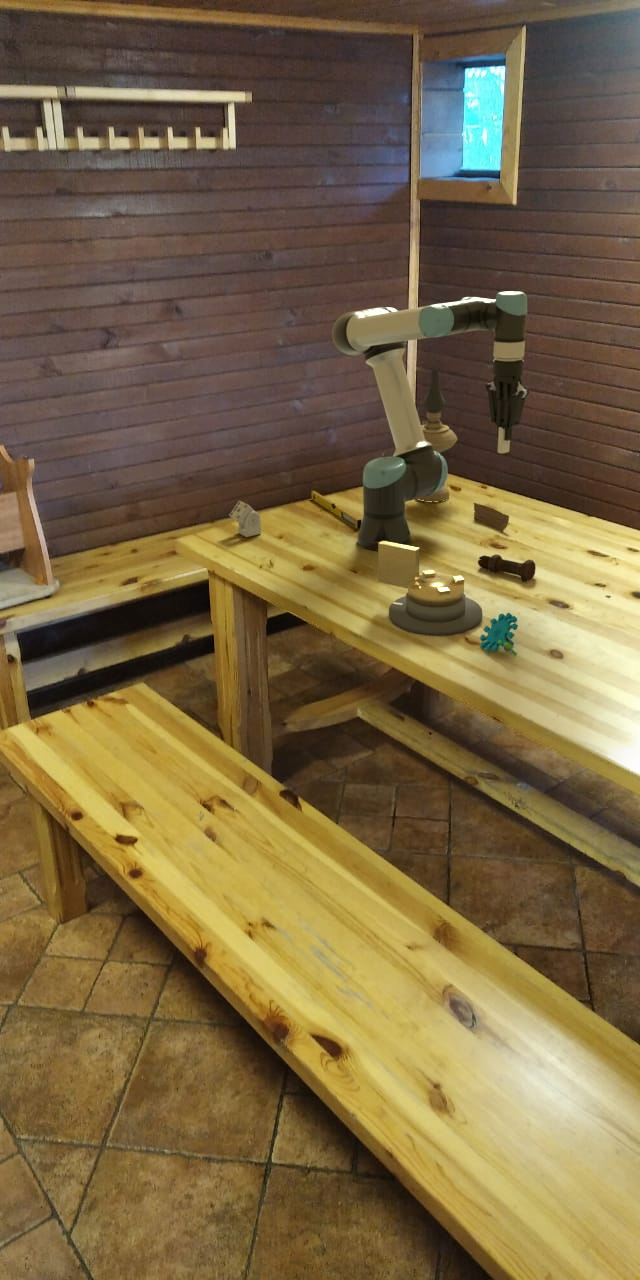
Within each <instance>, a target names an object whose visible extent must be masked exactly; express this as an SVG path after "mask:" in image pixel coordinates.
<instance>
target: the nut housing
mask: <svg viewBox="0 0 640 1280" xmlns="http://www.w3.org/2000/svg"><path fill="white" fill-rule="evenodd" d="M388 619H389V621H390V622H391V623H392V625H394V626H395V627H396V628H398V629H400V630H402V631H404V632H408V633H411V634H416V635H421V636H430V637H432V636H433V637H442V636H443V637H444V636H455V635H459V634H463V633H467V632H469V631H471V630H473V629H475V628H476V627H477V626H479V625H480V624H481V622H482V619H483V608H482V606H481V605H480V604H479V603H478V602H477V601H475V600H473V599H471V598H469V597H468V596H466V594H465V593H464V597H463V599H462V600H461V601H460V602H458V603H456V604H453V605H449V606H441V607H433V606H425V605H420V604H417V603H415V602H413V601H411V600H410V599H409V597H408V592H406V594H405V595H404V596H401V597H400V598H397V599H396V600H394V601H393V602H391V604H390V605H389V607H388Z"/></svg>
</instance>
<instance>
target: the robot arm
mask: <svg viewBox="0 0 640 1280" xmlns="http://www.w3.org/2000/svg"><path fill="white" fill-rule="evenodd" d="M528 311H529V310H528V295H527V294H526V293H525V292H523V291H513V290H510V291H500V292H497V294H496V297H495V299H494V298H493V299H492V298H484V297H479V296H466V297H462V298H461V299H460V300H457V301H451V302H450V301H449V302H443V303H434V304H430V305H425V306H420V307H414V308H408V309H407V308H406V309H402V310H397V309H396V308H394V307H392V306H391V307H390V306H389V307H388V306H387V307H384V306H383V307H382V306H377V307H374V308H368V309H363V310H354V311H353V310H352V311H348V312H345V313H344V314H342V315H341V316H339V317H338V318H337V319H336V320H335V322H334V325H333V327H332V330H331V337H332V341H333V344H334V345H335V347H336V348H337V349H338V350H339V351H340V352H341V353H343V354H346V355H348V356H360V355H363V358H364V361H365V364H367V365H368V366H370V367H371V368H372V369H373V373H374V376H375V380H376V383H377V387H378V390H379V395H380V397H381V401H382V403H383V404H382V405H383V407H384V411H385V416H386V418H387V423H388V427H389V429H390V432H391V435H392V440H393V443H394V446H395V452H394V453H393V455H392V456H389V455H388V456H385V457H383V456H380V457H378V458H377V457H376V458H374V459H372V460H370V461H369V462H367V463H366V464H365V466H364V467H363V473H362V474H363V476H362V490H363V491H362V494H363V499H362V500H363V517H362V519H361V522H362V523H361V527H360V529H359V531H358V533H357V544H358V545H359V546H360V547H362V548H364V549H367V550H371V551H378V543H379V542H381V541H387V542H392V543H397V544H402V545H408V546H410V544H411V541H412V540H411V539H412V535H411V531H410V527H409V524H408V522H407V518H406V503H407V502H409V501H410V502H411V501H414V500H416V499H417V498H420V497H424V496H428V495H431V494H433V493H435V492H438V491H439V490H441V489H442V487H443V486H445V483H446V482H447V479H448V473H449V471H448V463H447V461H446V459H445V458H444V456H443V455H442V453H438V452H435V451H434V450H433V446H432V444H431V443H429V442H427V441H426V440H425V438H424V434H423V431H422V427H421V425H422V424H421V421H420V417H419V413H418V410H417V407H416V406H417V405H416V403H415V400H414V399H415V398H414V396H413V393H412V388H411V386H410V382H409V378H408V375H407V372H406V371H407V370H406V367H405V365H404V361H403V356H404V353H406V347H405V344H406V343H407V342H409V341H416V340H423V339H428V338H436V339H437V338H441V337H442V338H443V337H447V336H451V335H456V334H464V333H469V332H474V331H488V332H493V333H494V335H493V337H494V338H493V353H492V354H493V355H492V356H493V357H494V359H493V361H492V374H493V375H494V376H493V378H492V381H491V382H489V383H486V384H485V389H486V391H487V395H488V396H487V397H488V404H489V405H488V406H489V413H490V420H491V423H492V424H495V425H496V427H497V428H496V429H497V430H496V431H497V432H496V439H497V442H498V443H497V453H499V454H501V455H502V454H505V453H510V446H511V445H510V443H511V441H512V438H513V436H512V435H513V428H514V427H517V426H519V425H520V421H521V418H522V414H523V410H524V406H525V402H526V398H527V397H528V396H529V394H530V390H529V389H525V388H524V386H523V382H522V381H523V380H522V375H523V373H524V369H525V368H524V365H525V360H524V359H523V358H524V357H525V346H526V345H525V343H526V329H527V328H526V327H527V319H528Z"/></svg>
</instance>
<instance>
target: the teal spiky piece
mask: <svg viewBox="0 0 640 1280" xmlns="http://www.w3.org/2000/svg"><path fill="white" fill-rule="evenodd" d="M517 621H518V618H517V616H516V615H512V614H511V612H507V613H505V614H504V613H499V614H498V618H497V619H496V618H495V617H494V618H491V620H490V624H491V627H489V626H488V625H486V626H485V627H484V628H483V629H482V630H483V631H484V632H485V633H487V635H485V634H481V635H480V637H479V640H481V643H480V647H481V648H482V649H484V650H485V651H486V652H487V653H490V652H491V651H493V652H498V651H499V649H500V646H501V647H502V648H503V650H505V651H506V652H510V653H511V654H512V655H514V656H517V654H518V653H517V652H516V650H514V649H513V647H514V646H515V642H514V641H512V639H513V638H514V637H515V636H516V635H515V633H513V632H512V631H511V629H512V630H513V631H517V629H518V627H519V625H518V624H517Z"/></svg>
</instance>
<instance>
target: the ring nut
mask: <svg viewBox="0 0 640 1280" xmlns="http://www.w3.org/2000/svg"><path fill="white" fill-rule="evenodd" d="M420 549H421V548H420V547H416V546H412V545H402V544H397V543H392V542H387V541H381V542H379V543H378V550H377V552H378V553H377V556H378V557H377V559H378V561H377V563H378V564H377V565H378V566H377V569H378V571H377V572H378V574H377V579H378V583H381V584H385V585H390V586H394V587H397V588H398V587H400V588H404V589H407V593H408V597H409V599H410V600H411V601H413V602H415V603H417V604H420V605H425V606H433V607H441V606H449V605H453V604H456V603H458V602H460V601H461V600H462V599H463V597H464V594H465V578H464V577H463V576H462V575H457V576H456V575H453V574H448V573H439V572H436V573H435V570H434V569H428V570H422V573H421V574H420V552H421V551H420Z"/></svg>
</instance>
